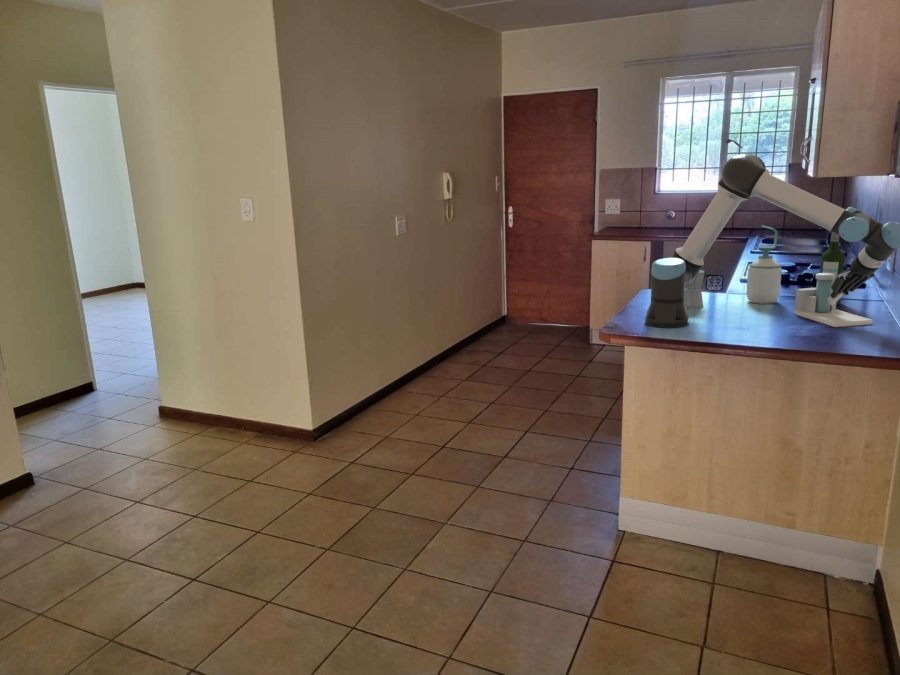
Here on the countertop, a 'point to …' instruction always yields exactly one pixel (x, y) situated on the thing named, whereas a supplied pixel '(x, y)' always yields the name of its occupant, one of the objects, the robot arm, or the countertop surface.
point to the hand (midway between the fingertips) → (830, 301)
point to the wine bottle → (833, 259)
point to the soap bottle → (764, 276)
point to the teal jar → (823, 291)
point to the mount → (834, 317)
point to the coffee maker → (695, 292)
